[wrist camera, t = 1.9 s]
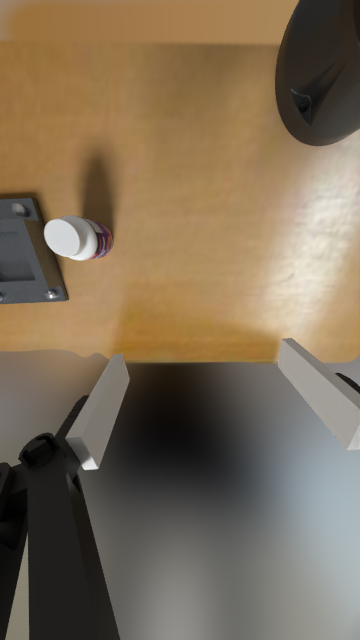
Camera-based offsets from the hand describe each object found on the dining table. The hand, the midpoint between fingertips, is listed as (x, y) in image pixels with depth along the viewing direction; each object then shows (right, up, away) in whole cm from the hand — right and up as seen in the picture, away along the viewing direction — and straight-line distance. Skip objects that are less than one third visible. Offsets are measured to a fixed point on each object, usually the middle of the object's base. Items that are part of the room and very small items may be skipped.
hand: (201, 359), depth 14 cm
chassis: (-31, +14, +15) cm, 37 cm away
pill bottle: (-16, +17, +14) cm, 27 cm away
